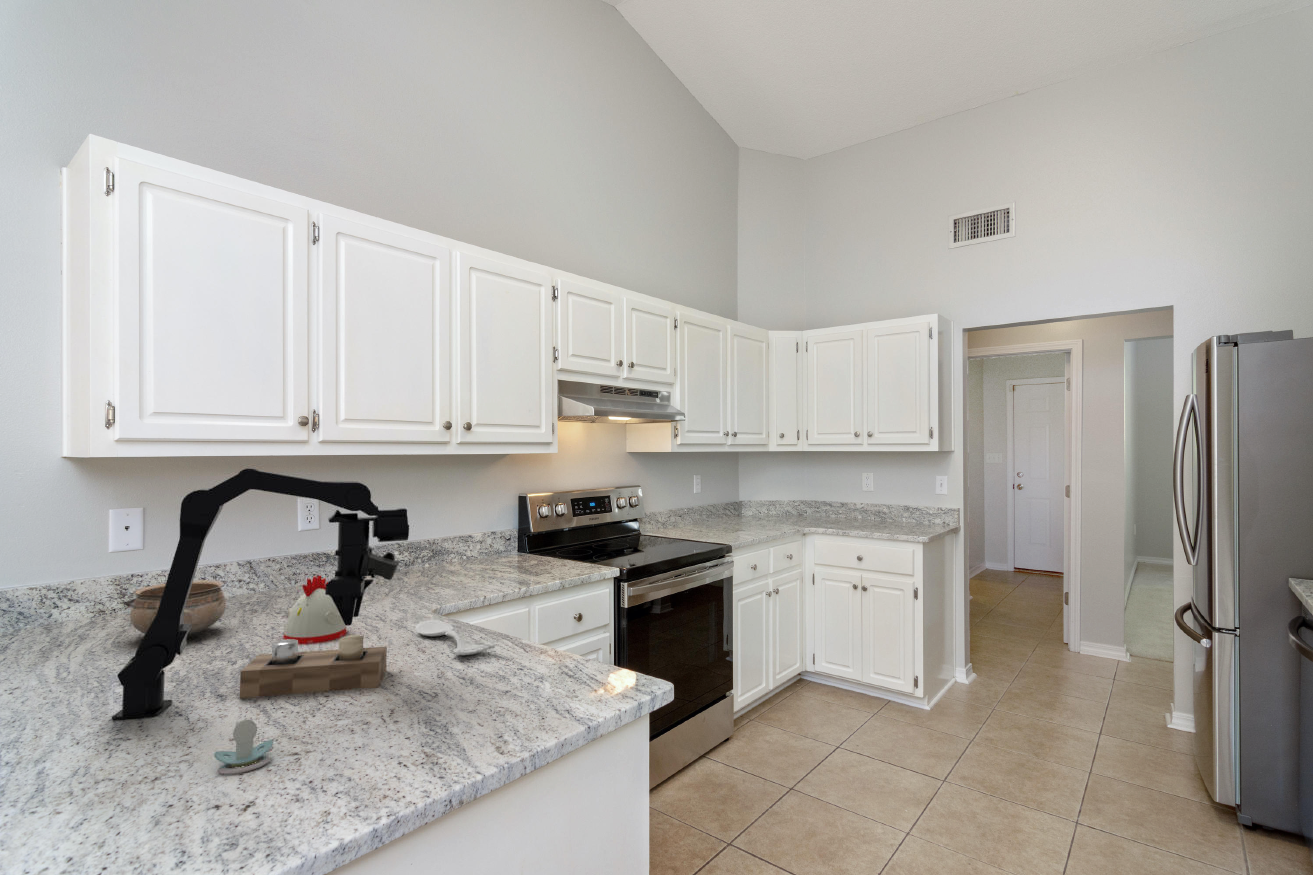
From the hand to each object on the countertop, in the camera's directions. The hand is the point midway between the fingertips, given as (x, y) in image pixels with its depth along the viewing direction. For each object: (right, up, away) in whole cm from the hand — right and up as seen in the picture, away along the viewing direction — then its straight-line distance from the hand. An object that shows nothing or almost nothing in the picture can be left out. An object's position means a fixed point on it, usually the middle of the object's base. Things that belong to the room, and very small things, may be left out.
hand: (351, 620), depth 127 cm
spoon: (+12, -13, +25) cm, 31 cm away
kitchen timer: (-24, -13, +30) cm, 41 cm away
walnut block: (-6, -12, -2) cm, 13 cm away
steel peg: (-12, -8, -3) cm, 15 cm away
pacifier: (+1, -12, -35) cm, 37 cm away
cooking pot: (-56, -12, +28) cm, 64 cm away
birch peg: (0, -9, 0) cm, 9 cm away
